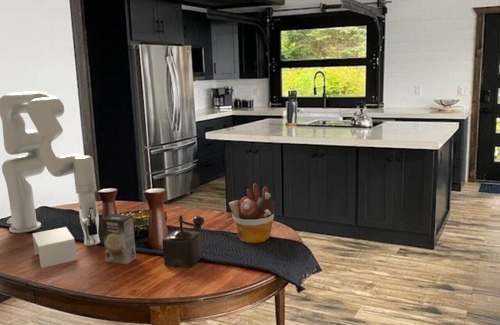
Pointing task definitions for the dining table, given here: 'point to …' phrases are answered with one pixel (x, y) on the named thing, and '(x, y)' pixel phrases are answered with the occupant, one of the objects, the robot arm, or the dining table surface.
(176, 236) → the manual coffee grinder
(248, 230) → the bucket of meat
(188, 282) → the dining table surface
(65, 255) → the white block
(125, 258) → the coffee box
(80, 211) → the beer glass
